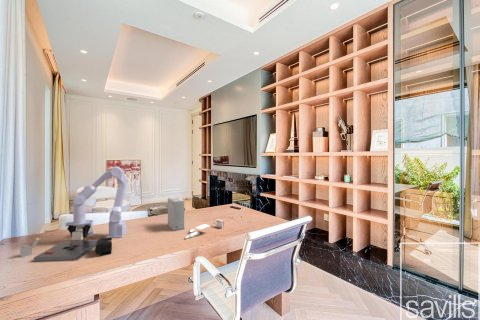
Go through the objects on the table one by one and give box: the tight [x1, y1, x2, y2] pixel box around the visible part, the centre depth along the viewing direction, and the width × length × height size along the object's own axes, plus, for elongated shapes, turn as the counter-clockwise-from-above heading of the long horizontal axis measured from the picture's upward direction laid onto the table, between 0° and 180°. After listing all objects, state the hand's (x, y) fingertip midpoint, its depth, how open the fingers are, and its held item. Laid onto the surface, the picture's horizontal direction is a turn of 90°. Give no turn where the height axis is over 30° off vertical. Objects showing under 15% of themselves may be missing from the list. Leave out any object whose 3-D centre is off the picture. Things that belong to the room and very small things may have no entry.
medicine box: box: [76, 219, 94, 236], centre depth 139 cm, size 8×4×9 cm, turn 168°
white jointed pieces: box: [184, 218, 225, 240], centre depth 146 cm, size 10×6×30 cm
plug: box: [71, 229, 86, 241], centre depth 129 cm, size 5×5×6 cm
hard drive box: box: [167, 197, 185, 231], centre depth 156 cm, size 16×8×20 cm, turn 34°
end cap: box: [94, 236, 113, 257], centre depth 115 cm, size 10×7×7 cm
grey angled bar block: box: [19, 237, 40, 258], centre depth 112 cm, size 7×2×8 cm, turn 130°
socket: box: [33, 239, 98, 262], centre depth 115 cm, size 20×20×2 cm
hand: (79, 237), depth 129 cm, fingers open, 6 cm apart
